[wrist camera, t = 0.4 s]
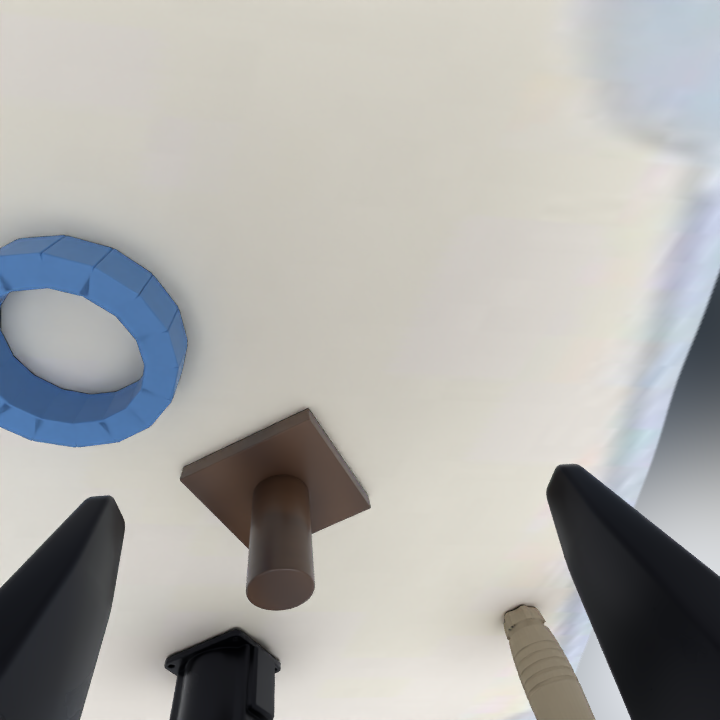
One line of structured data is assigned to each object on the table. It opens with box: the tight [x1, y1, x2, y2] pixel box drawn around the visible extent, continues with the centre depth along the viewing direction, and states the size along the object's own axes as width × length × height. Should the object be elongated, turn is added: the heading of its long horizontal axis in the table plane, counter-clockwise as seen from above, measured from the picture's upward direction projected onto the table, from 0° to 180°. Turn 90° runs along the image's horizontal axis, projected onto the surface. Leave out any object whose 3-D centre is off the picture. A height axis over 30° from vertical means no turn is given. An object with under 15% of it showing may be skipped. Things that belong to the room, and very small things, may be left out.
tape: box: [0, 235, 188, 447], centre depth 21 cm, size 9×9×2 cm
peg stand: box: [180, 409, 371, 611], centre depth 25 cm, size 8×8×7 cm
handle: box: [504, 605, 595, 720], centre depth 33 cm, size 5×6×15 cm
